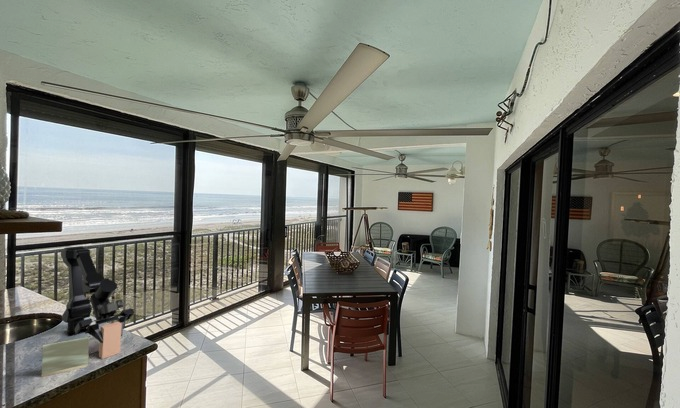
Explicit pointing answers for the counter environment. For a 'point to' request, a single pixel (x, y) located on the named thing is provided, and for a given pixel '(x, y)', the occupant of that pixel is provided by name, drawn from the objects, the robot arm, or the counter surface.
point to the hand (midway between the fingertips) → (112, 339)
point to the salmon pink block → (110, 340)
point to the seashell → (93, 345)
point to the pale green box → (65, 356)
